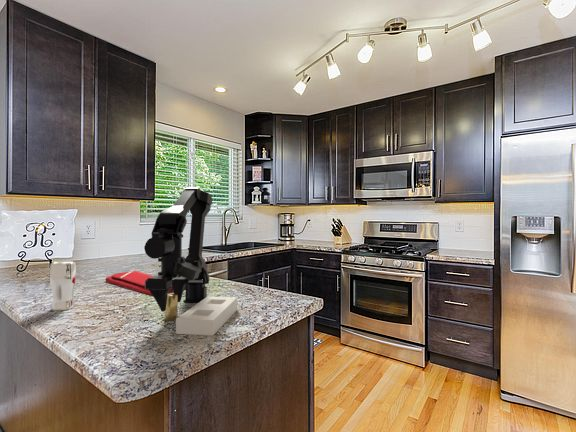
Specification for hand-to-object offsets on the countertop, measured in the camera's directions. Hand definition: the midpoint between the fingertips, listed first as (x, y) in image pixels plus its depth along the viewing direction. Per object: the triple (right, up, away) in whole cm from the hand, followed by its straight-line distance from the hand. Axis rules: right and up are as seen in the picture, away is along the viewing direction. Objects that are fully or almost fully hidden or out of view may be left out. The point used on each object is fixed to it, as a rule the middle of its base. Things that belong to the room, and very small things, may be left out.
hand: (171, 306), depth 94 cm
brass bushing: (0, -4, 0) cm, 4 cm away
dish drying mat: (-28, -4, +44) cm, 52 cm away
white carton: (-39, -4, +10) cm, 40 cm away
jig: (+12, -4, -2) cm, 13 cm away
